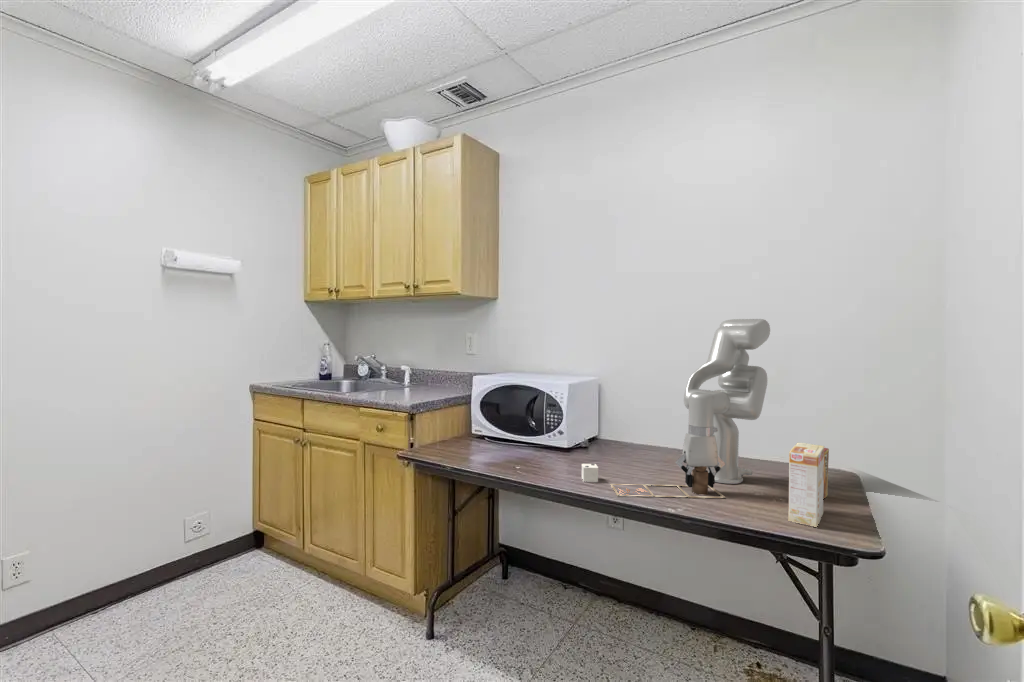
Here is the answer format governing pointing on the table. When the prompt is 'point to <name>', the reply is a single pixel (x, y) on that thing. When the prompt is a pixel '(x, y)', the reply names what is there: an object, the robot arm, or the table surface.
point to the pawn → (700, 480)
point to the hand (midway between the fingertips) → (699, 485)
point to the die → (590, 472)
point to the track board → (662, 496)
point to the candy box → (825, 471)
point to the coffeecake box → (806, 484)
